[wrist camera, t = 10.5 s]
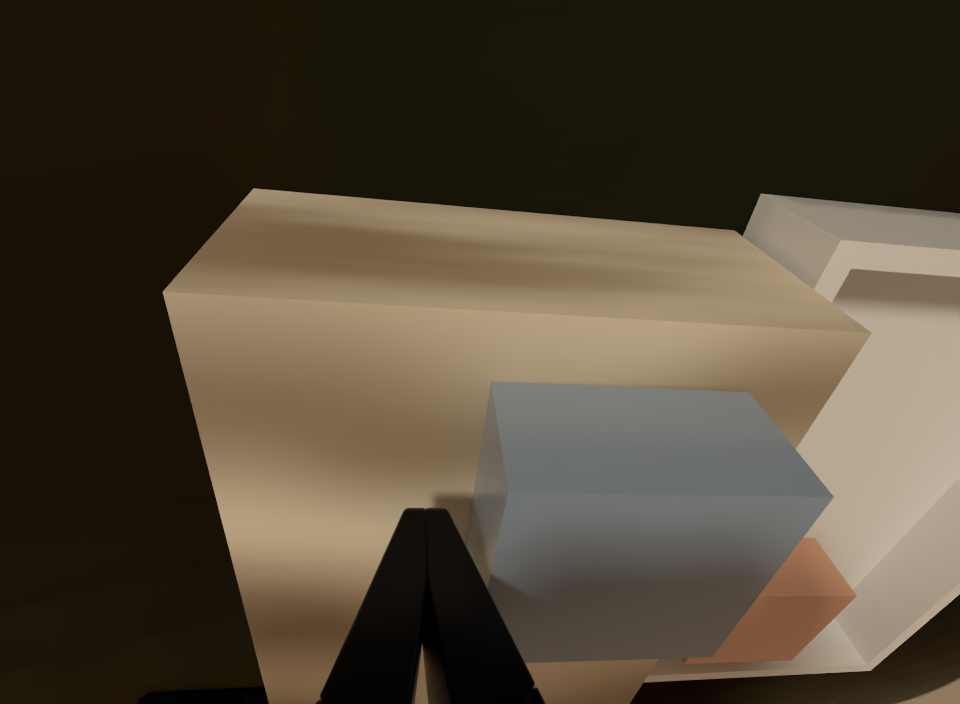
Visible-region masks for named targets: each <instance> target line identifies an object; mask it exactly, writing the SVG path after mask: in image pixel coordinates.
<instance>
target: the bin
mask: <svg viewBox="0 0 960 704" xmlns="http://www.w3.org/2000/svg"><path fill="white" fill-rule="evenodd" d="M743 237H744V238H745V239H746V240H748V241H749V242H750V243H752V244H753V245H754V246H756V247H757V248H758V249H760V250H761V251H762V252H764V253H765V254H766V255H768V256H769V257H770V258H772V259H773V260H775V261H776V262H777V263H779V264H780V265H781V266H783V267H784V268H785V269H787V270H788V271H789V272H791V273H792V274H793V275H795V276H796V277H797V278H799V279H800V280H801V281H803V282H804V283H805V284H807V285H808V286H809V287H811V288H812V289H813V290H815V291H816V292H817V293H819V294H820V295H821V296H823V297H824V298H826V299H827V300H828V301H830V302H831V303H832V304H834V305H835V306H836V307H838V308H839V309H840V310H842V311H843V312H844V313H846V314H847V315H848V316H850V317H851V318H852V319H854V320H855V321H856V322H858V323H859V324H860V325H862V326H863V327H864V328H866V329H867V330H868V331H870V332H871V333H872V334H871V335H870V337H869V338H868V340H867V341H866V343H865V344H864V346H863V347H862V349H861V350H860V352H859V353H858V355H857V357H856V358H855V360H854V361H853V363H852V364H851V366H850V367H849V369H848V370H847V372H846V373H845V375H844V376H843V378H842V379H841V381H840V383H839V384H838V386H837V387H836V389H835V390H834V392H833V393H832V395H831V396H830V398H829V399H828V401H827V402H826V404H825V405H824V407H823V409H822V410H821V412H820V413H819V415H818V416H817V418H816V419H815V421H814V422H813V424H812V425H811V427H810V428H809V430H808V431H807V433H806V435H805V436H804V438H803V439H802V441H801V442H800V444H799V445H798V447H797V448H796V450H797V452H798V453H799V454H800V455H801V457H802V458H803V459H804V460H805V462H806V463H807V464H808V465H809V467H810V468H811V469H812V470H813V472H814V473H815V474H816V475H817V476H818V478H819V479H820V480H821V481H822V483H823V484H824V485H825V486H826V488H827V489H828V490H829V491H830V493H831V494H832V495H833V496H834V498H833V499H832V500H831V502H830V503H829V504H828V506H827V507H826V508H825V510H824V511H823V512H822V514H821V515H820V516H819V517H818V519H817V520H816V521H815V523H814V524H813V525H812V527H811V528H810V529H809V531H808V532H807V533H806V535H805V536H804V537H803V538H815V539H816V540H817V542H818V543H819V544H820V546H821V547H822V549H823V550H824V551H825V553H826V554H827V555H828V557H829V558H830V560H831V561H832V562H833V564H834V565H835V566H836V568H837V569H838V571H839V572H840V573H841V575H842V576H843V577H844V579H845V580H846V582H847V583H848V584H849V586H850V587H851V588H852V590H853V591H854V593H855V594H856V595H857V597H856V598H855V599H854V600H853V601H851V602H850V603H849V604H848V605H847V606H846V607H845V608H844V609H843V610H842V611H841V612H840V613H839V614H838V615H837V616H836V617H835V618H834V619H833V620H832V621H831V622H830V623H829V624H828V625H827V626H826V627H825V628H824V629H823V630H822V631H821V632H820V633H819V634H818V635H817V636H816V637H815V638H814V639H813V640H812V641H811V642H810V643H809V644H808V645H807V646H806V647H805V648H804V649H803V650H802V651H801V652H800V653H799V654H798V655H797V656H796V657H794V658H793V659H792V660H791V661H762V662H728V663H695V664H684V662H683V660H682V658H675V659H658V661H657V662H656V664H655V665H654V667H653V668H652V670H651V672H650V673H649V675H648V676H647V678H646V679H645V681H644V682H662V681H681V680H700V679H719V678H739V677H758V676H777V675H796V674H816V673H835V672H854V671H871V670H872V669H873V668H874V667H875V666H876V665H878V664H879V663H880V662H881V661H882V660H883V659H884V658H886V657H887V656H888V655H889V654H890V653H891V652H893V651H894V650H895V649H896V648H897V647H898V646H900V645H901V644H902V643H903V642H904V641H905V640H907V639H908V638H909V637H910V636H911V635H912V634H914V633H915V632H916V631H917V630H918V629H919V628H921V627H922V626H923V625H924V624H925V623H926V622H928V621H929V620H930V619H931V618H932V617H933V616H935V615H936V614H937V613H938V612H939V611H940V610H942V609H943V608H944V607H945V606H946V605H947V604H949V603H950V602H951V601H952V600H953V599H954V598H956V597H957V596H958V595H959V594H960V214H959V213H949V212H939V211H929V210H919V209H909V208H899V207H889V206H879V205H869V204H859V203H849V202H839V201H829V200H819V199H809V198H799V197H789V196H779V195H769V194H761V195H760V197H759V199H758V202H757V204H756V206H755V209H754V211H753V213H752V216H751V218H750V220H749V223H748V225H747V227H746V230H745V232H744V234H743Z"/></svg>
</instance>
